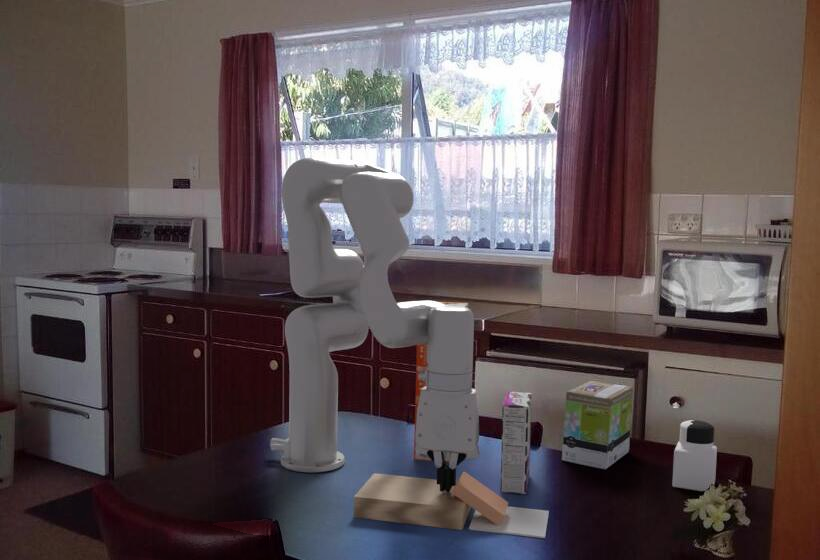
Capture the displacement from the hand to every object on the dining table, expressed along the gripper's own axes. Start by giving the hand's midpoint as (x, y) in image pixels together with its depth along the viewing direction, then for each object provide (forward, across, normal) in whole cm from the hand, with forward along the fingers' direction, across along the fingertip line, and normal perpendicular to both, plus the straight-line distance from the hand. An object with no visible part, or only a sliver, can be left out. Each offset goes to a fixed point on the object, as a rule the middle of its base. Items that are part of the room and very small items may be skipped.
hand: (446, 488), depth 130 cm
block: (+2, +5, 0) cm, 6 cm away
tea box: (+4, +25, +40) cm, 47 cm away
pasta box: (+4, -8, +38) cm, 39 cm away
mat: (+4, +11, 0) cm, 12 cm away
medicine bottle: (+4, +43, +28) cm, 51 cm away
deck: (+4, -5, 0) cm, 7 cm away
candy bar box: (+4, +10, +18) cm, 21 cm away
